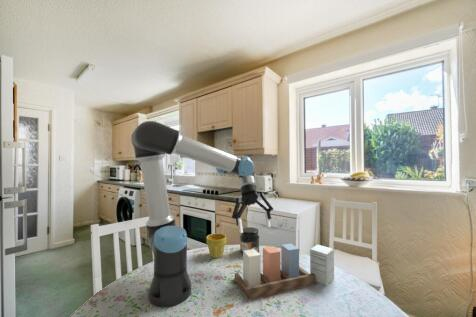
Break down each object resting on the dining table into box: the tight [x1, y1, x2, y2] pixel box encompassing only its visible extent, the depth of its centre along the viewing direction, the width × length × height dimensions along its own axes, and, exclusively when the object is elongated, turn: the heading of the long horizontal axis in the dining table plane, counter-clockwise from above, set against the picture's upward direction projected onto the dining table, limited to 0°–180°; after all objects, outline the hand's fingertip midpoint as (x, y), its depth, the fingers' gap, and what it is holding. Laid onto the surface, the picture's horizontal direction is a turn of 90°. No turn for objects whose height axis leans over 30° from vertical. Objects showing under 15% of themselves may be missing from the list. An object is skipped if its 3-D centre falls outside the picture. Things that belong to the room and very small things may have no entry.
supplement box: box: [309, 244, 335, 286], centre depth 91 cm, size 7×7×13 cm
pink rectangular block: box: [262, 245, 282, 282], centre depth 90 cm, size 5×6×12 cm
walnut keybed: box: [234, 265, 316, 301], centre depth 88 cm, size 29×14×4 cm, turn 110°
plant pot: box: [205, 233, 227, 259], centre depth 113 cm, size 10×10×10 cm
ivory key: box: [242, 249, 262, 287], centre depth 87 cm, size 5×6×12 cm
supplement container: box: [239, 226, 260, 255], centre depth 117 cm, size 10×10×12 cm
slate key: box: [280, 243, 300, 278], centre depth 93 cm, size 5×6×12 cm
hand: (254, 230), depth 99 cm, fingers open, 13 cm apart
